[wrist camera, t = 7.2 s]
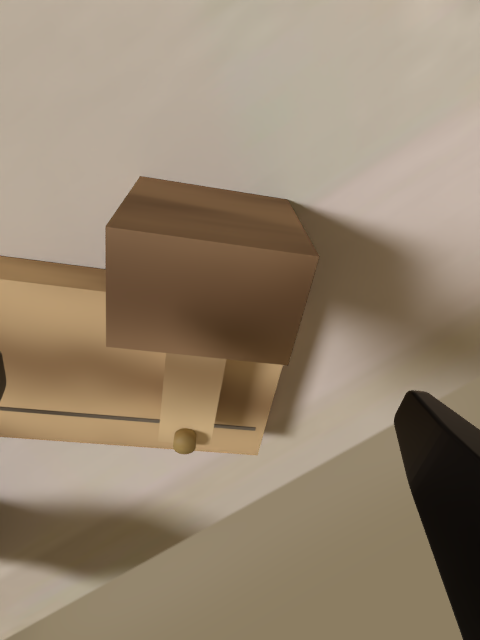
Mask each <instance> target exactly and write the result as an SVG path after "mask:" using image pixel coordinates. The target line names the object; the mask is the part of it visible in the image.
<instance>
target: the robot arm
mask: <svg viewBox="0 0 480 640" xmlns="http://www.w3.org/2000/svg"><path fill="white" fill-rule="evenodd" d="M5 388H6V374H5V368H4V362H3V356H2V353H1V351H0V401H1V399H2V396H3V394H4V391H5ZM394 425H395V430H396V434H397V438H398V442H399V446H400V451H401V454H402V459H403V463H404V467H405V471H406V476H407V479H408V483H409V486H410V489H411V492H412V495H413V498H414V501H415V504H416V507H417V510H418V512H419V515H420V518H421V521H422V524H423V527H424V529H425V532H426V535H427V538H428V541H429V544H430V547H431V549H432V552H433V555H434V558H435V561H436V564H437V566H438V569H439V572H440V575H441V578H442V581H443V584H444V586H445V589H446V592H447V595H448V598H449V600H450V603H451V606H452V609H453V612H454V615H455V618H456V620H457V623H458V626H459V629H460V632H461V635H462V638H463V640H480V430H479V429H478V428H476V427H475V426H474V425H472V424H471V423H469V422H468V421H467V420H465V419H464V418H462V417H461V416H460V415H458V414H457V413H456V412H454V411H453V410H451V409H450V408H448V407H447V406H446V405H444V404H443V403H442V402H440V401H439V400H437V399H436V398H435V397H433V396H432V395H431V394H429V393H427V392H424V391H414V390H411V391H408V392H407V393H406V395H405V397H404V398H403V400H402V402H401V404H400V406H399V408H398V410H397V412H396V414H395V418H394Z"/></svg>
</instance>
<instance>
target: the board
mask: <svg viewBox="0 0 480 640" xmlns="http://www.w3.org/2000/svg"><path fill="white" fill-rule="evenodd" d="M0 351H1V353H2V356H3V362H4V368H5V374H6V388H5V391H4V394H3V396H2V399H1V401H0V437H11V438H25V439H39V440H53V441H66V442H80V443H94V444H108V445H122V446H136V447H150V448H164V449H174V448H173V443H170V442H158V436H159V425H160V414H161V403H162V392H163V381H164V370H165V359H166V353H161V352H151V351H141V350H131V349H122V348H112V347H106V269H98V268H90V267H82V266H74V265H67V264H59V263H51V262H43V261H35V260H28V259H20V258H12V257H4V256H0ZM282 367H283V365H278V364H268V363H258V362H249V361H239V360H229V359H226V365H225V370H224V375H223V381H222V386H221V391H220V396H219V402H218V407H217V412H216V418H215V423H214V428H213V434H212V439H211V444H210V445H197V444H196V449H195V450H194V451H206V452H219V453H233V454H247V455H258V451H259V448H260V444H261V441H262V437H263V434H264V430H265V427H266V423H267V420H268V416H269V413H270V409H271V405H272V402H273V398H274V395H275V391H276V388H277V384H278V381H279V377H280V374H281V370H282Z"/></svg>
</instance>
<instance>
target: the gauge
mask: <svg viewBox="0 0 480 640" xmlns="http://www.w3.org/2000/svg"><path fill="white" fill-rule="evenodd" d="M318 260H319V255H318V253H317V251H316V250H315V248H314V246H313V244H312V242H311V241H310V239H309V237H308V235H307V233H306V232H305V230H304V228H303V226H302V224H301V223H300V221H299V219H298V217H297V216H296V214H295V212H294V210H293V208H292V207H291V205H290V203H289V201H288V200H287V199H280V198H274V197H268V196H261V195H255V194H249V193H242V192H236V191H230V190H224V189H217V188H211V187H205V186H198V185H192V184H186V183H179V182H173V181H167V180H161V179H154V178H148V177H142V176H140V177H139V179H138V180H137V182H136V183H135V185H134V186H133V188H132V189H131V190H130V192H129V193H128V195H127V196H126V198H125V199H124V201H123V202H122V203H121V205H120V206H119V208H118V209H117V211H116V212H115V214H114V215H113V217H112V218H111V219H110V221H109V222H108V224H107V225H106V347H112V348H122V349H131V350H141V351H151V352H161V353H166V359H165V370H164V381H163V392H162V403H161V414H160V425H159V436H158V442H170V443H173V448H174V450H175V451H176V452H178V453H180V454H189V453H192V452H193V451H194V450H195V449H196V444H197V445H210V444H211V439H212V434H213V428H214V423H215V418H216V412H217V407H218V402H219V396H220V391H221V386H222V381H223V375H224V370H225V365H226V359H229V360H239V361H249V362H258V363H268V364H278V365H288V364H289V360H290V357H291V353H292V350H293V346H294V343H295V340H296V336H297V333H298V329H299V326H300V322H301V319H302V315H303V312H304V309H305V305H306V302H307V298H308V295H309V291H310V288H311V284H312V281H313V278H314V274H315V271H316V267H317V264H318Z"/></svg>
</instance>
